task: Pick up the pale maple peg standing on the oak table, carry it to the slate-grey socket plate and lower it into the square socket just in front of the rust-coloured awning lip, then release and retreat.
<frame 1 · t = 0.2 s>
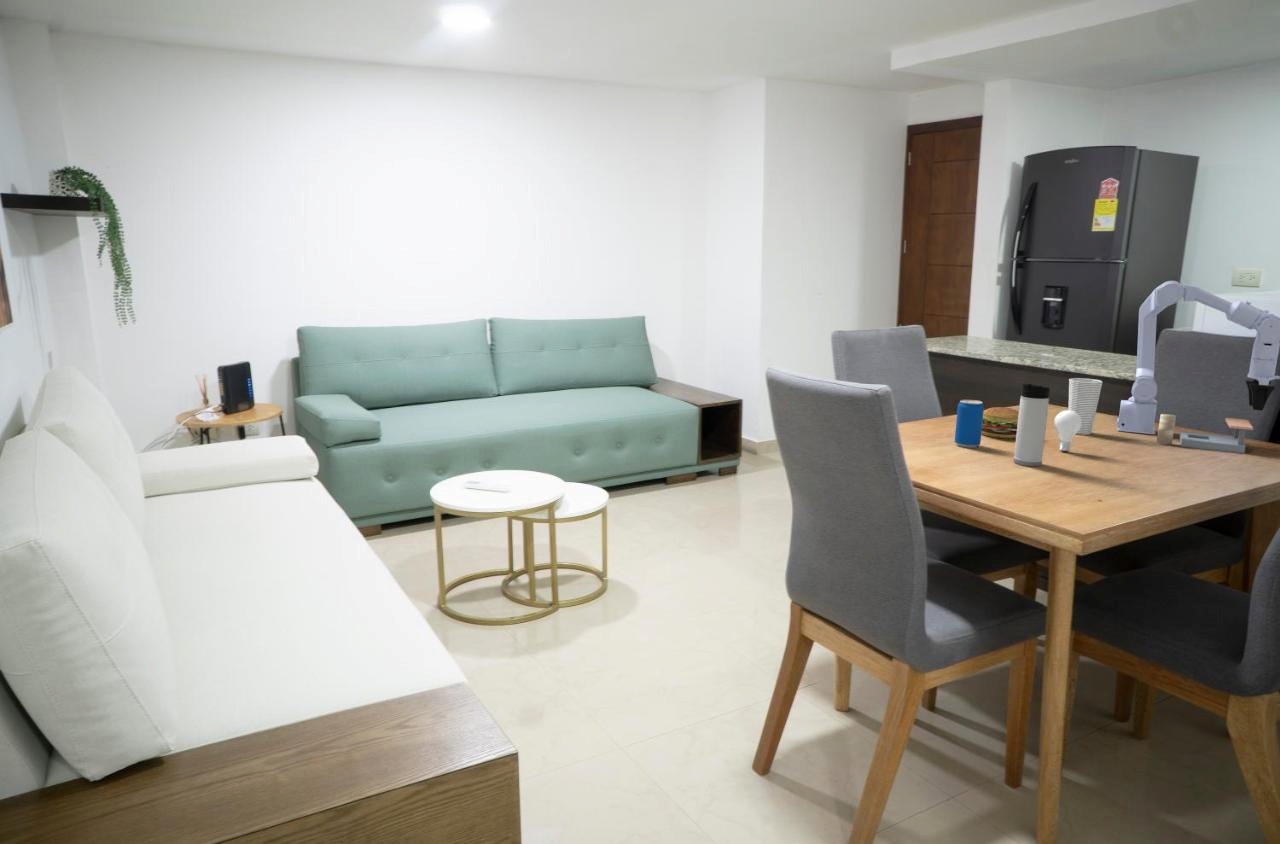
hand: (1255, 407, 230), 10 cm above the table, fingers open, 7 cm apart
beverage can: (966, 446, 223), on the table
cup: (1079, 433, 242), on the table
food: (1001, 436, 237), on the table
lightbulb: (1064, 452, 218), on the table
peg: (1164, 443, 229), on the table
travel mug: (1026, 464, 204), on the table
socket station: (1210, 445, 228), on the table
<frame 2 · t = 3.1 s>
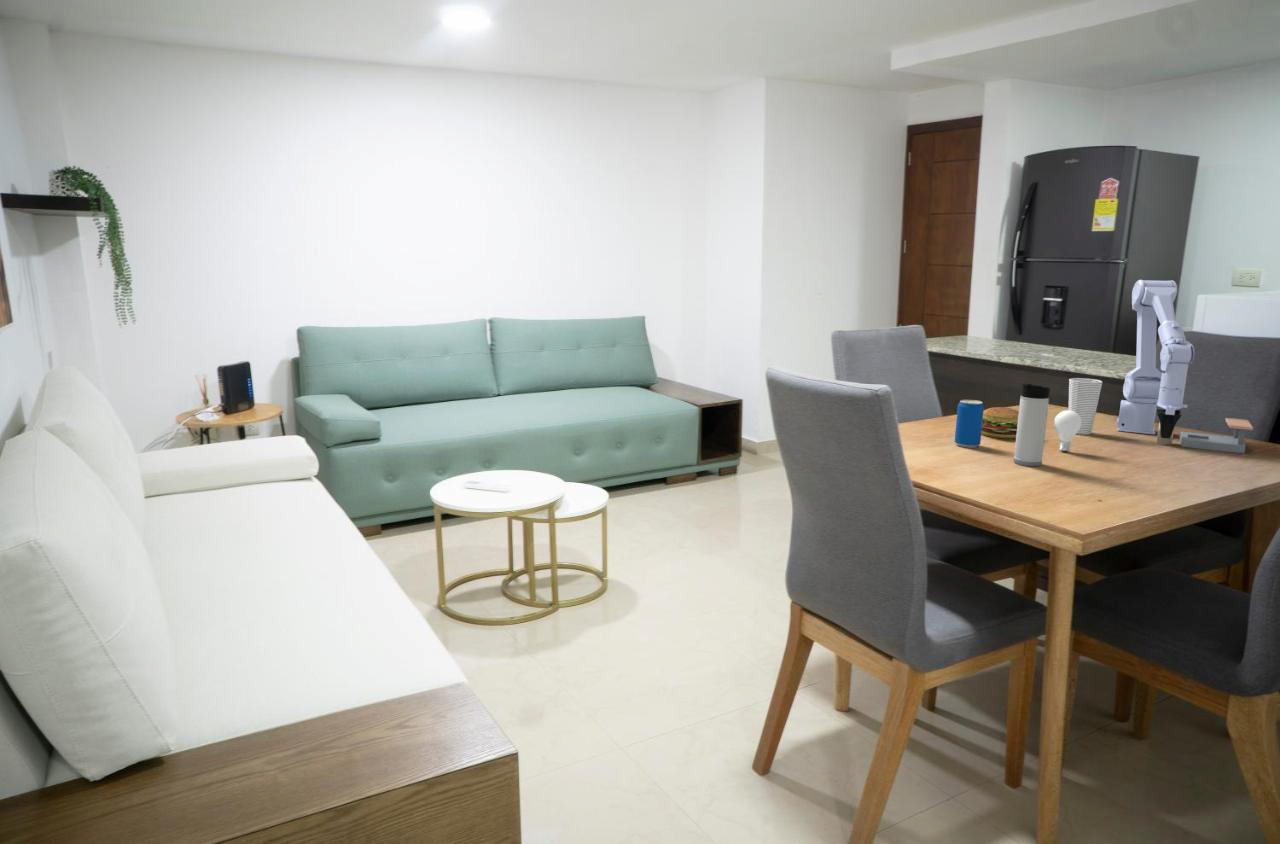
hand: (1165, 436, 229), 2 cm above the table, fingers closed on peg, 4 cm apart
peg: (1164, 443, 229), on the table, touching gripper
everything else where it was.
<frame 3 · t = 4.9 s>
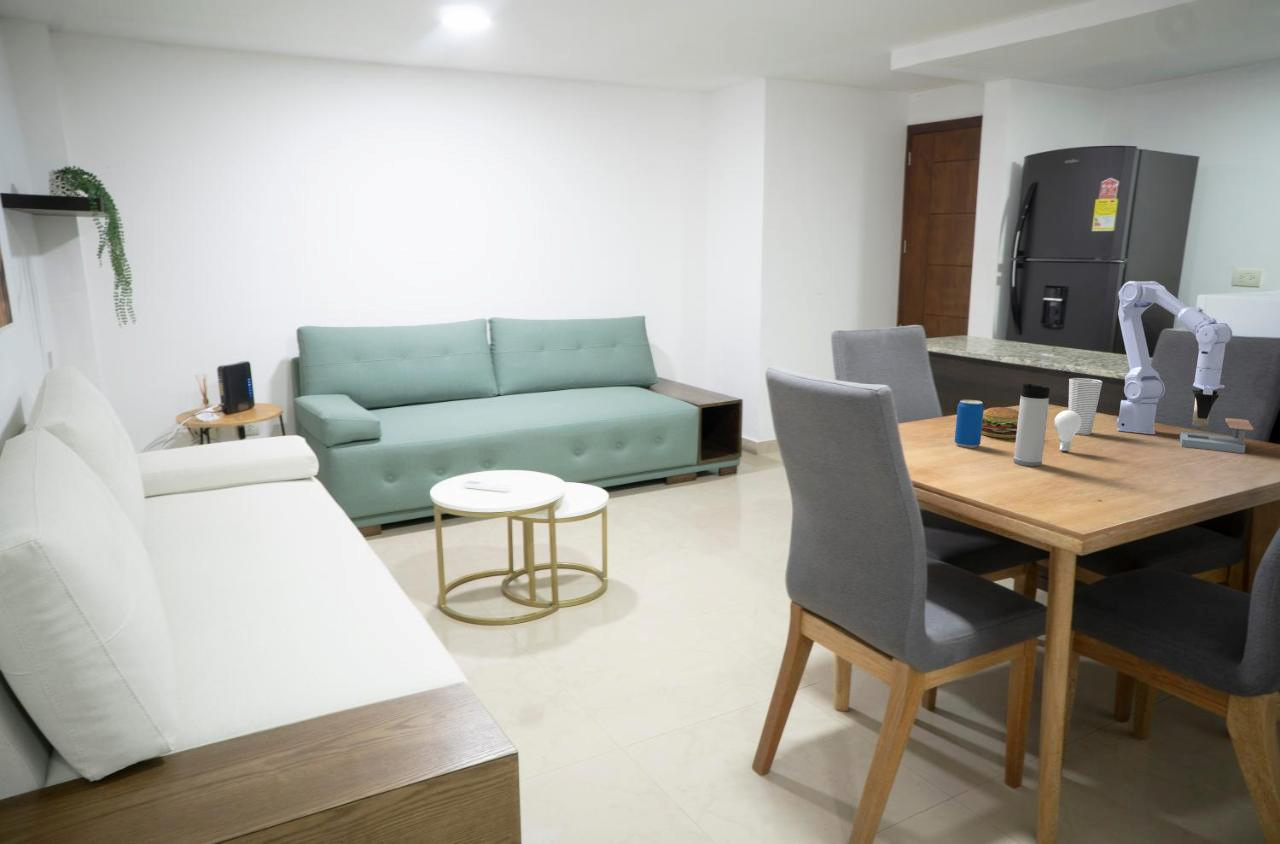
hand: (1201, 417, 228), 8 cm above the table, fingers closed on peg, 4 cm apart
peg: (1200, 425, 229), point 5 cm above the table, touching gripper
everything else where it was.
when the fingers open (3 cm above the table, at t = 6.5 s): peg stays where it is, resting in socket station.
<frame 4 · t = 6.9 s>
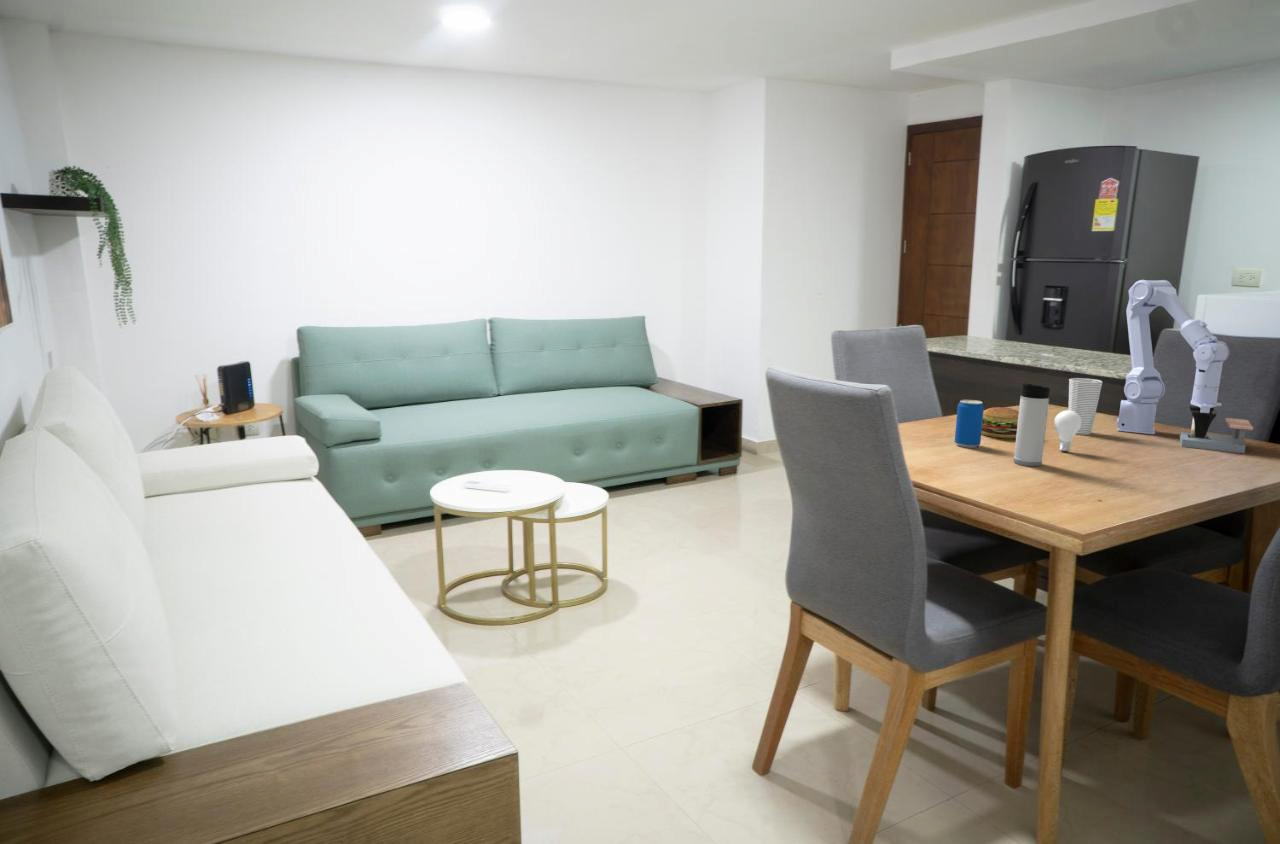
hand: (1198, 434, 229), 3 cm above the table, fingers open, 7 cm apart
peg: (1196, 444, 230), resting in socket station
everything else where it was.
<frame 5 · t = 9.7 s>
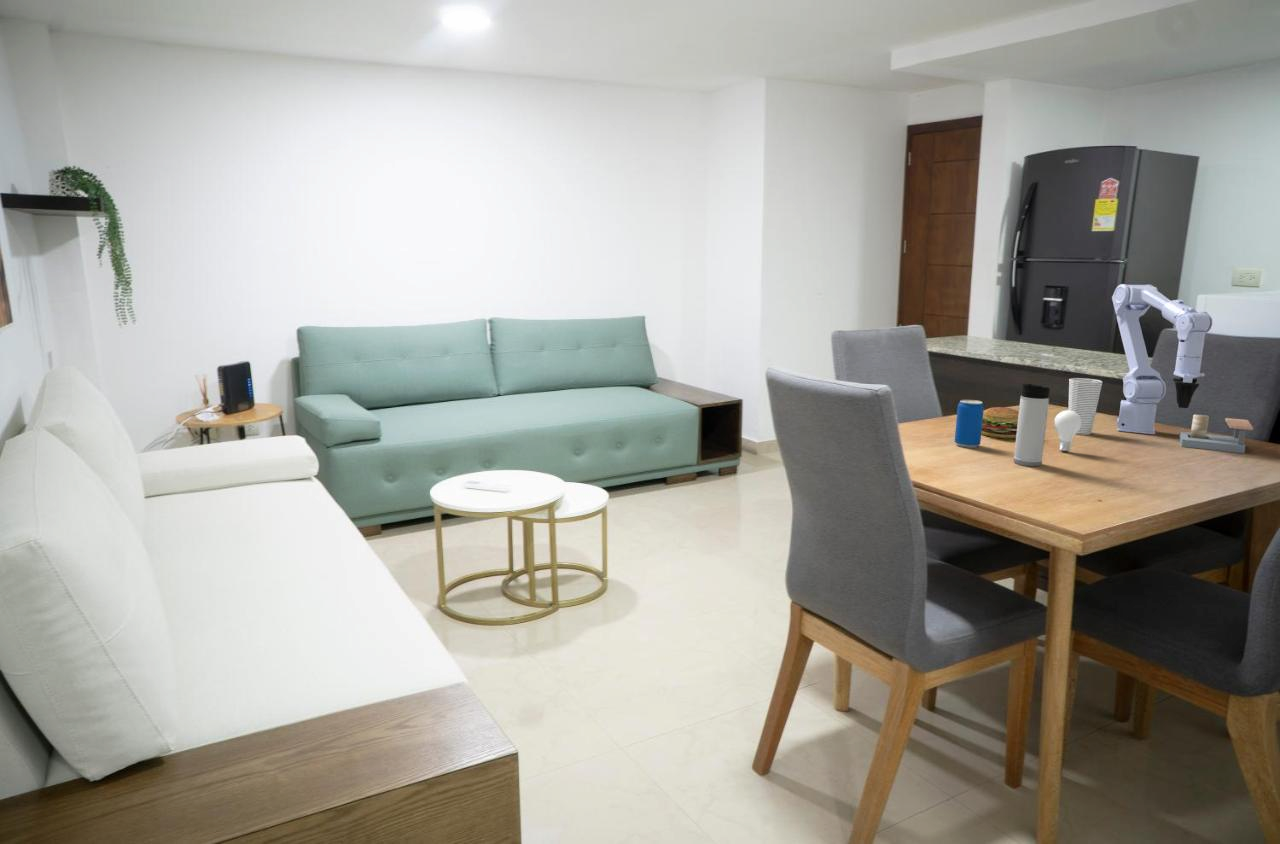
hand: (1182, 405, 229), 10 cm above the table, fingers open, 7 cm apart
nothing on the table moved.
at the end: peg 0.1 cm from the target spot on the socket station, point 0.0 cm above the socket station's base; peg tilted 0°; the gripper is holding nothing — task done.
